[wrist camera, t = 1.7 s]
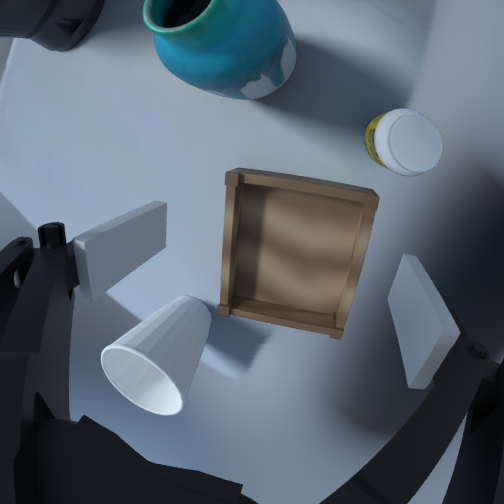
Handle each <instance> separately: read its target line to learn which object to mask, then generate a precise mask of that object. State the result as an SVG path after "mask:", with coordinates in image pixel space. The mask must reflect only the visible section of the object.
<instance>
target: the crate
mask: <svg viewBox="0 0 504 504" xmlns="http://www.w3.org/2000/svg"><path fill="white" fill-rule="evenodd" d="M225 185H227V186H226V200H225V216H224V232H223V250H222V270H221V292H220V304H219V305H218V314H219V315H223V316H227V317H229V315H230V314H231V315H235V316H240V317H244V318H248V319H253V320H257V321H262V322H266V323H271V324H276V325H281V326H286V327H290V328H296V329H301V330H306V331H311V332H317V333H322V334H328V335H330V338H334V339H340V340H341V337H342V335H343V332H344V326H345V322H346V320H347V317H348V313H349V310H350V307H351V304H352V300H353V297H354V294H355V291H356V287H357V284H358V280H359V276H360V273H361V269H362V266H363V262H364V258H365V254H366V250H367V246H368V242H369V238H370V234H371V230H372V225H373V221H374V216H375V212H376V211H377V208H378V202H379V196H378V195H377V194H376V193H375V192H374V190H373V189H368V188H363V187H358V186H354V185H348V184H343V183H338V182H332V181H327V180H321V179H315V178H309V177H303V176H297V175H290V174H284V173H276V172H269V171H262V170H254V169H245V168H236V169H233V170H231V171H228V172H226V174H225Z"/></svg>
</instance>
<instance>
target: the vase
mask: <svg viewBox="0 0 504 504" xmlns="http://www.w3.org/2000/svg"><path fill="white" fill-rule="evenodd" d="M142 16H143V20H144V23H145V25H146V26H147V28H148V29H149V30H150V31H152V32H153V33H154V44H155V48H156V51H157V54H158V56H159V58H160V60H161V62H162V63H163V64H164V66H165V67H166V68H167V69H168V70H169V71H170V72H171V73H172V74H174V75H175V76H177V77H178V78H180V79H181V80H183V81H185V82H186V83H188V84H190V85H192V86H195V87H197V88H199V89H202V90H204V91H207V92H209V93H212V94H216V95H219V96H223V97H227V98H233V99H241V100H251V99H258V98H262V97H265V96H267V95H270V94H272V93H274V92H275V91H277V90H278V89H280V88H281V87H282V86H283V85H284V84H285V83H286V82H287V81H288V80H289V78H290V76H291V75H292V73H293V71H294V68H295V64H296V59H297V48H296V42H295V37H294V33H293V30H292V28H291V25H290V23H289V20H288V18H287V16H286V14H285V12H284V10H283V9H282V7H281V6H280V4H279V3H278V2H277V0H145V2H144V5H143V10H142Z"/></svg>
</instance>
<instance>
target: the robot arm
mask: <svg viewBox="0 0 504 504" xmlns="http://www.w3.org/2000/svg"><path fill="white" fill-rule="evenodd" d="M103 3H104V0H0V37H11V38H27V39H31V40H32V41H34V42H36V43H38V44H39V45H41V46H43V47H44V48H46V49H48V50H51V51H60V52H61V51H66V50H68V49H70V48H72V47H73V46H75V45H76V44H77V43H78V42H79V41H80V40H81V39H82V38H83V37H84V36H85V35H86V34H87V33H88V31H89V30H90V29H91V27H92V26H93V24H94V23H95V21H96V19H97V17H98V16H99V13H100V11H101V9H102V6H103ZM166 219H167V203H166V202H160V201H154V202H152V203H149V204H147V205H145V206H142V207H140V208H137V209H135V210H133V211H131V212H128V213H126V214H124V215H121V216H119V217H117V218H115V219H113V220H110V221H108V222H106V223H104V224H102V225H100V226H97V227H95V228H93V229H91V230H89V231H87V232H85V233H83V234H81V235H79V236H77V237H75V238H73V240H72V241H71V242H69V243H67V244H66V236H65V227H64V224H63V223H60V222H53V223H47V224H44V225H42V226H40V227H39V228H38V235H39V241H40V248H39V249H38V248H33V242H32V238H29V237H19V238H17V239H15V240H13V241H12V242H10V243H9V244H8V245H7V246H6V247H5V248H4V249H3V250H1V251H0V504H258V503H257V502H255V501H254V500H252V499H251V498H249V497H247V496H245V495H243V494H241V490H242V487H243V484H239V483H235V482H232V481H228V480H225V479H222V478H218V477H215V476H212V475H209V474H206V473H203V472H200V471H196V470H189V469H183V468H177V467H171V466H166V465H161V464H156V463H152V462H150V461H148V460H146V459H145V458H144V457H142V456H141V455H140V454H139V453H137V452H136V451H135V450H134V449H133V448H131V447H130V446H129V445H128V444H127V443H126V442H124V441H123V440H122V439H121V438H120V437H119V436H118V435H117V434H115V433H114V432H112V431H110V430H109V429H107V428H105V427H103V426H102V425H100V424H98V423H97V422H95V421H93V420H92V419H90V418H89V417H87V416H85V415H83V417H82V418H81V419H80V420H79V421H78V422H74V421H71V419H70V413H69V356H70V340H71V328H72V317H73V309H74V301H75V292H74V288H75V287H76V286H77V285H79V286H80V292H81V296H82V297H84V298H87V299H89V300H91V301H94V300H95V299H97V298H98V297H99V296H100V295H102V294H103V293H104V292H106V291H107V290H108V289H110V288H111V287H112V286H114V285H115V284H116V283H118V282H119V281H120V280H122V279H123V278H124V277H126V276H127V275H128V274H130V273H131V272H132V271H134V270H135V269H136V268H138V267H139V266H140V265H142V264H143V263H144V262H146V261H147V260H149V259H150V258H151V257H153V256H154V255H156V254H157V253H158V252H160V251H161V250H163V249H164V248H165V247H166ZM14 274H15V276H16V280H17V286H15V283H14ZM388 302H389V306H390V310H391V313H392V317H393V321H394V325H395V329H396V332H397V337H398V340H399V345H400V349H401V353H402V358H403V363H404V367H405V372H406V377H407V382H408V387H409V388H417V389H425V388H426V387H427V386H428V384H429V383H430V381H431V380H432V378H433V380H434V384H435V386H434V388H433V389H432V390H431V392H430V393H429V394H428V396H427V397H426V398H425V400H424V401H423V402H422V404H421V405H420V406H419V407H418V409H417V410H416V411H415V412H414V414H413V415H412V416H411V417H410V418H409V420H408V421H407V422H406V423H405V424H404V426H403V427H402V428H401V429H400V430H399V431H398V432H397V433H396V434H395V436H394V437H393V438H392V439H391V440H390V441H389V442H388V443H387V444H386V445H385V446H384V447H383V448H382V449H381V450H380V451H379V452H378V453H377V454H376V455H375V456H374V457H373V458H372V459H371V460H370V461H369V462H368V463H367V464H366V465H365V466H364V467H363V468H362V469H361V470H359V471H358V472H357V473H356V474H355V475H354V476H353V477H352V478H350V479H349V480H348V481H347V482H346V483H345V484H343V485H342V486H341V487H340V488H339V489H337V490H336V491H335V492H334V493H332V494H331V495H330V496H329V497H327V498H326V499H325V500H323V501H322V502H321V503H320V504H407V503H408V502H409V501H410V500H411V499H412V497H413V496H414V495H415V494H416V492H417V491H418V490H419V488H420V487H421V486H422V484H423V483H424V482H425V480H426V479H427V477H428V476H429V475H430V473H431V472H432V470H433V469H434V468H435V466H436V464H437V463H438V462H439V460H440V459H441V457H442V455H443V454H444V452H445V451H446V449H447V447H448V446H449V444H450V442H451V441H452V439H453V437H454V435H455V434H456V432H457V430H458V428H459V426H460V425H461V422H462V421H463V419H464V417H465V415H466V413H467V411H468V413H467V418H466V423H465V428H464V433H463V438H462V442H461V446H460V450H459V454H458V457H457V461H456V464H455V468H454V471H453V475H452V477H451V480H450V483H449V486H448V489H447V492H446V494H445V497H444V500H443V502H442V504H504V359H503V361H502V362H501V364H498V363H496V362H493V361H491V360H490V355H489V352H488V351H487V349H486V348H485V347H484V346H483V345H482V344H480V343H479V342H477V341H475V340H471V339H469V337H468V335H467V333H466V331H465V329H464V328H463V326H462V325H461V322H460V320H458V317H457V315H456V313H455V311H454V310H453V309H452V308H451V307H450V306H448V304H445V303H444V301H443V299H442V298H441V296H440V294H439V293H438V291H437V289H436V287H435V286H434V284H433V282H432V281H431V279H430V277H429V276H428V274H427V273H426V271H425V269H424V268H423V266H422V265H421V263H420V262H419V260H418V258H417V257H416V256H413V255H409V254H405V253H404V254H403V256H402V259H401V262H400V265H399V268H398V271H397V274H396V277H395V279H394V282H393V285H392V288H391V290H390V293H389V296H388Z"/></svg>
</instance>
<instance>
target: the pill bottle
mask: <svg viewBox="0 0 504 504" xmlns="http://www.w3.org/2000/svg"><path fill="white" fill-rule="evenodd" d="M364 144H365V148H366V150H367V152H368V154H369V155H370V157H371V158H372V159H373V160H374V161H375V162H377V163H378V164H380V165H381V166H383V167H385V168H387V169H389V170H391V171H392V172H394V173H396V174H399V175H403V176H416V175H419V174H422V173H424V172H426V171H429V170H431V169H432V168H434V167H435V166H436V165H437V164H438V162H439V161H440V159H441V157H442V153H443V140H442V136H441V133H440V132H439V129H438V128H437V126H436V125H435V124H434V123H433V122H432V121H431V120H430V119H428V118H427V117H425V116H423V115H422V114H420V113H419V112H417V111H414V110H412V109H406V108H400V109H394V110H391V111H389V112H386V113H384V114H381V115H378V116H376V117H375V118H373V119H372V120H371V121H370V122H369V123H368V125H367V127H366V129H365V132H364Z"/></svg>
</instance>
